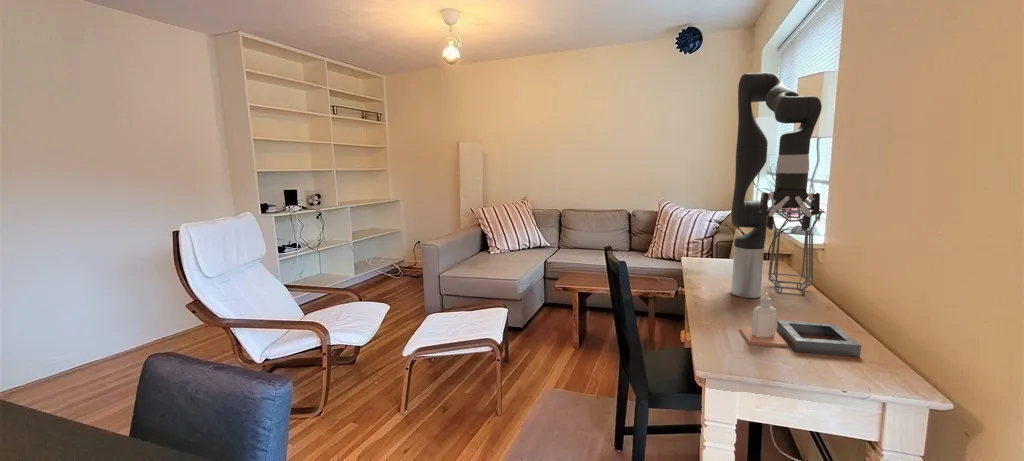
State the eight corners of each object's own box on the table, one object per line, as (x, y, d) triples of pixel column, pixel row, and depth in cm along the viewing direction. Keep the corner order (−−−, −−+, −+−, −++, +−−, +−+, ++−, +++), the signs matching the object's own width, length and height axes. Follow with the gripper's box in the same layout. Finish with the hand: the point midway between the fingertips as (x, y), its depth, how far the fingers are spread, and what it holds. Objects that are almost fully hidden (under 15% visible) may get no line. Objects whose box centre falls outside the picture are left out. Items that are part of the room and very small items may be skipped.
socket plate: (776, 330, 124) (777, 320, 123) (833, 334, 120) (834, 323, 120) (795, 351, 110) (796, 340, 110) (859, 356, 107) (861, 345, 106)
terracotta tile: (740, 331, 124) (740, 328, 124) (775, 333, 122) (775, 330, 121) (748, 344, 115) (749, 341, 115) (787, 347, 113) (787, 344, 113)
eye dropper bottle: (776, 340, 115) (780, 296, 113) (752, 337, 117) (755, 294, 115) (773, 334, 119) (777, 291, 117) (750, 331, 121) (753, 289, 119)
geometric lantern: (765, 294, 155) (771, 195, 150) (763, 283, 169) (769, 192, 164) (819, 299, 148) (827, 195, 143) (812, 288, 161) (820, 193, 157)
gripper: (815, 170, 122) (810, 227, 125) (759, 171, 126) (755, 226, 129) (827, 171, 115) (821, 232, 118) (767, 172, 119) (762, 231, 121)
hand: (786, 229), depth 123 cm, fingers open, 8 cm apart
